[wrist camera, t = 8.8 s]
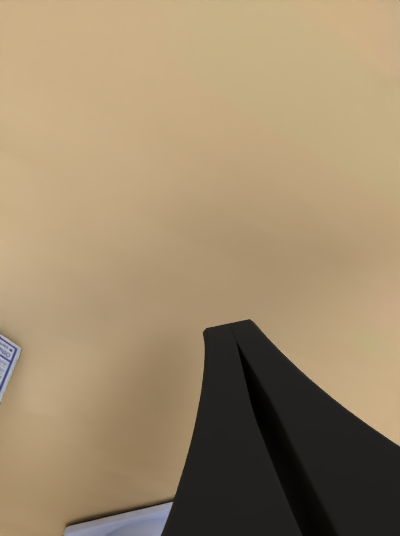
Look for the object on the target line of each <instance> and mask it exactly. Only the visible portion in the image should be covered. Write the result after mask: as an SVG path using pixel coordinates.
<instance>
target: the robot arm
mask: <svg viewBox="0 0 400 536" xmlns="http://www.w3.org/2000/svg"><path fill="white" fill-rule="evenodd" d="M203 336H204V343H205V360H204V373H203V381H202V390H201V396H200V401H199V407H198V412H197V417H196V422H195V427H194V431H193V436H192V440H191V444H190V447H189V451H188V455H187V459H186V462H185V466H184V469H183V472H182V475H181V479H180V482H179V485H178V488H177V492H176V495H175V498H174V501H173V502H170V503H165V504H161V505H157V506H152V507H148V508H144V509H140V510H135V511H131V512H127V513H123V514H118V515H114V516H110V517H105V518H101V519H97V520H93V521H88V522H84V523H80V524H75V525H71V526H68V527H67V528H65V530H64V532H63V536H400V446H398V445H397V444H395V443H394V442H392V441H391V440H389V439H388V438H386V437H385V436H383V435H382V434H380V433H379V432H377V431H376V430H375V429H373V428H372V427H370V426H369V425H367V424H366V423H365V422H363V421H362V420H360V419H359V418H358V417H356V416H355V415H354V414H352V413H351V412H350V411H348V410H347V409H346V408H344V407H343V406H342V405H340V404H339V403H338V402H337V401H335V400H334V399H333V398H332V397H330V396H329V395H328V394H327V393H326V392H324V391H323V390H322V389H321V388H320V387H319V386H317V385H316V384H315V383H314V382H313V381H312V380H310V379H309V378H308V377H307V376H306V375H305V374H304V373H303V372H301V371H300V370H299V369H298V368H297V367H296V366H295V365H294V364H293V363H292V362H291V361H290V360H289V359H288V358H287V357H286V356H285V355H284V354H283V353H282V352H281V351H280V350H279V349H278V348H277V347H276V346H275V345H274V344H273V343H272V342H271V341H270V340H269V339H268V338H267V337H266V336H265V335H264V333H263V332H262V331H261V330H260V329H259V328H258V327H257V325H256V324H255V323H254V322H253V321H252V320H250V319H248V320H244V321H239V322H234V323H229V324H224V325H220V326H215V327H210V328H206V329H205V330H204V332H203Z"/></svg>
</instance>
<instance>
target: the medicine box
mask: <svg viewBox="0 0 400 536" xmlns="http://www.w3.org/2000/svg"><path fill="white" fill-rule="evenodd" d="M20 353H21V348H20V347H19V346H18V345H16V344H15V343H13V342H12V341H10V340H9V339H7V338H6V337H4V336H3V335H1V334H0V403H1V400H2V398H3V395H4V393H5V390H6V388H7V385H8V383H9V380H10V378H11V376H12V373H13V371H14V368H15V365H16V363H17V361H18V359H19V356H20Z"/></svg>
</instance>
